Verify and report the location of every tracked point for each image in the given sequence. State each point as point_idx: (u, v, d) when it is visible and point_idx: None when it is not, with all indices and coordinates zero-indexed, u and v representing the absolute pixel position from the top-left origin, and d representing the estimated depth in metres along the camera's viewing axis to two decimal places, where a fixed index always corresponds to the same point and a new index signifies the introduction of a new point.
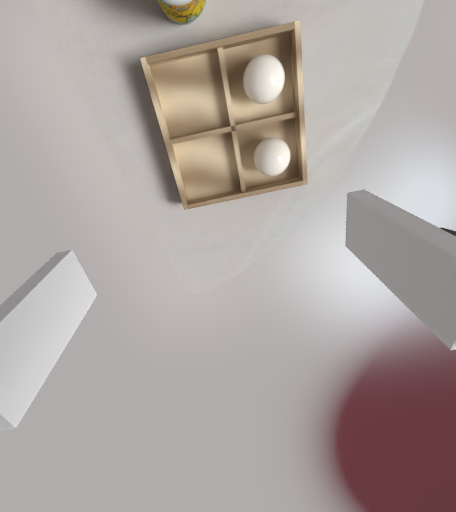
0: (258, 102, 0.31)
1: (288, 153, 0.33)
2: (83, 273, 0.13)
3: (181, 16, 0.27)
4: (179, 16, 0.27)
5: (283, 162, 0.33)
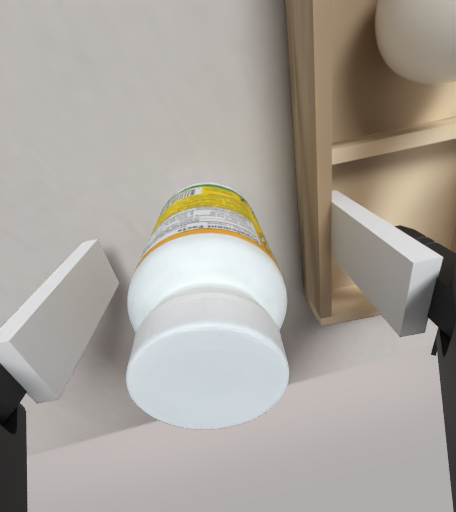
0: None
1: None
2: (107, 262, 0.13)
3: None
4: None
5: None
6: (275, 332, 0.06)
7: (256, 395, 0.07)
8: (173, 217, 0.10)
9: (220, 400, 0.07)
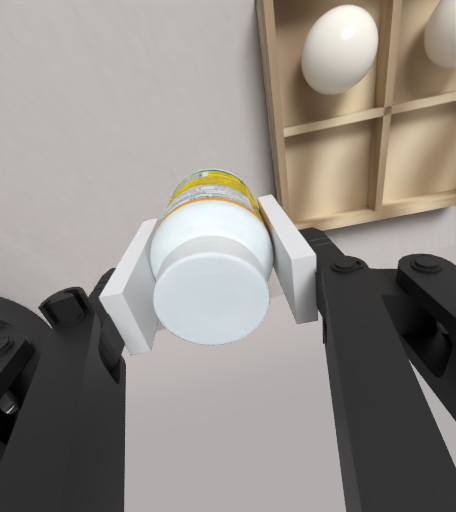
0: None
1: None
2: None
3: None
4: None
5: None
6: (259, 267, 0.09)
7: (246, 315, 0.09)
8: (185, 192, 0.12)
9: (219, 318, 0.09)
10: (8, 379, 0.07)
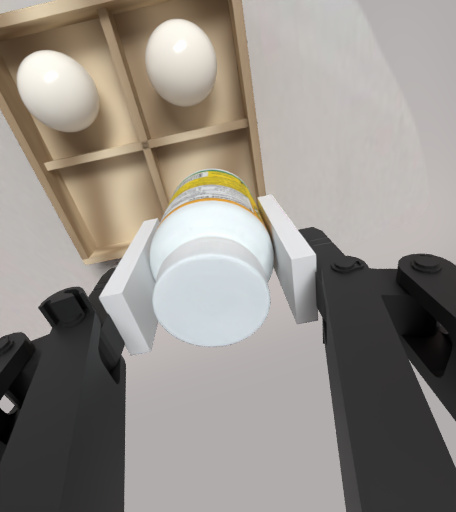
0: (92, 103, 0.18)
1: (166, 26, 0.16)
2: None
3: None
4: None
5: (183, 38, 0.15)
6: (260, 268, 0.09)
7: (246, 316, 0.09)
8: (185, 192, 0.12)
9: (220, 320, 0.09)
10: (8, 379, 0.07)
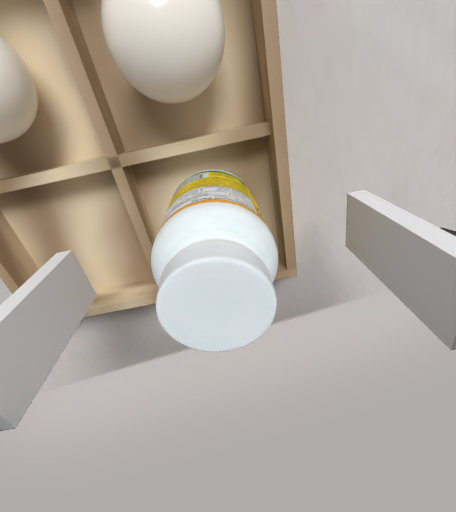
0: (19, 98, 0.11)
1: None
2: (83, 273, 0.13)
3: None
4: None
5: None
6: (266, 271, 0.09)
7: (252, 320, 0.09)
8: (186, 194, 0.12)
9: (225, 324, 0.09)
10: None
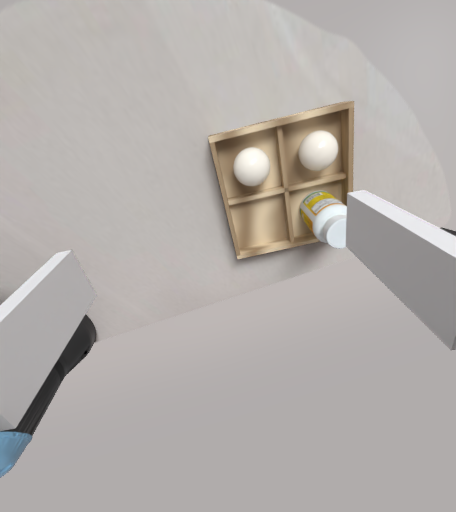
0: (269, 172, 0.34)
1: (318, 137, 0.31)
2: (83, 273, 0.13)
3: None
4: None
5: (328, 144, 0.31)
6: None
7: None
8: (320, 201, 0.34)
9: (344, 238, 0.32)
10: None
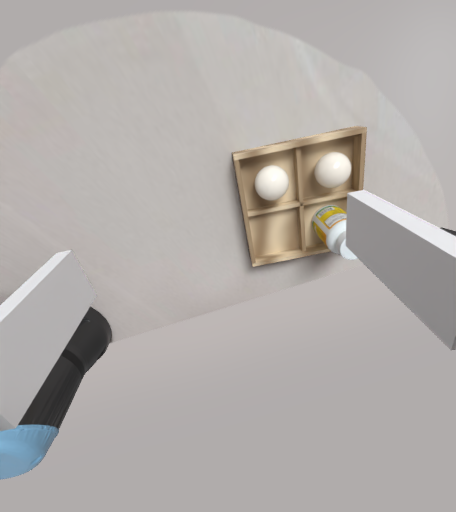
0: (287, 188, 0.37)
1: (334, 158, 0.34)
2: (83, 273, 0.13)
3: None
4: None
5: (343, 165, 0.34)
6: None
7: None
8: (333, 215, 0.38)
9: None
10: None
